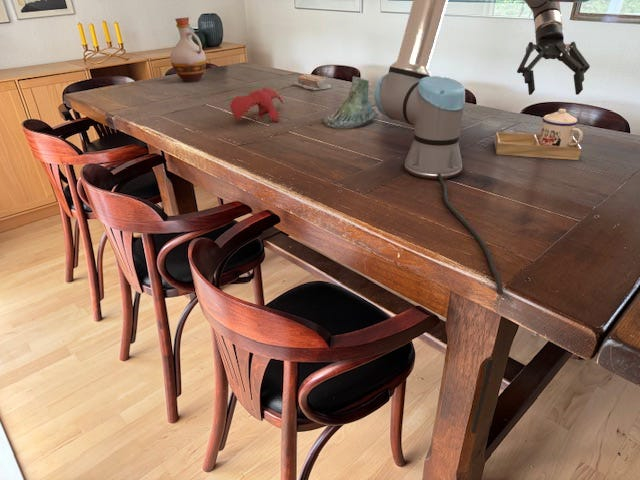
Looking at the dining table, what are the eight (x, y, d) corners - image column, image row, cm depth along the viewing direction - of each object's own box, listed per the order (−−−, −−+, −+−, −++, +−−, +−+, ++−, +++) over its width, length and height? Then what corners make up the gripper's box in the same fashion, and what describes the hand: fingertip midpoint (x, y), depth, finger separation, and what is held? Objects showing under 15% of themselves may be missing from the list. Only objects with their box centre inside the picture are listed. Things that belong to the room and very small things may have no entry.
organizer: (578, 160, 128) (581, 148, 126) (496, 154, 133) (498, 143, 132) (570, 147, 137) (573, 136, 136) (494, 142, 143) (496, 131, 141)
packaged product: (331, 77, 213) (313, 80, 208) (331, 88, 215) (313, 91, 211) (310, 72, 226) (293, 74, 221) (310, 82, 228) (293, 85, 224)
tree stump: (314, 119, 171) (323, 69, 164) (360, 126, 179) (371, 79, 172) (333, 130, 155) (344, 75, 149) (382, 136, 163) (395, 85, 157)
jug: (218, 79, 239) (210, 16, 224) (193, 85, 226) (183, 19, 211) (192, 76, 249) (182, 15, 233) (166, 82, 236) (155, 18, 220)
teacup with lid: (529, 147, 135) (538, 108, 129) (547, 142, 140) (556, 103, 134) (568, 159, 127) (579, 117, 121) (585, 152, 131) (597, 112, 125)
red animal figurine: (289, 122, 182) (266, 91, 181) (302, 108, 175) (279, 76, 174) (244, 142, 161) (218, 107, 160) (258, 127, 155) (231, 91, 154)
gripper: (584, 38, 142) (592, 99, 136) (503, 39, 143) (507, 99, 138) (597, 21, 134) (606, 84, 129) (511, 22, 136) (516, 84, 130)
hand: (555, 92), depth 133 cm, fingers open, 13 cm apart
